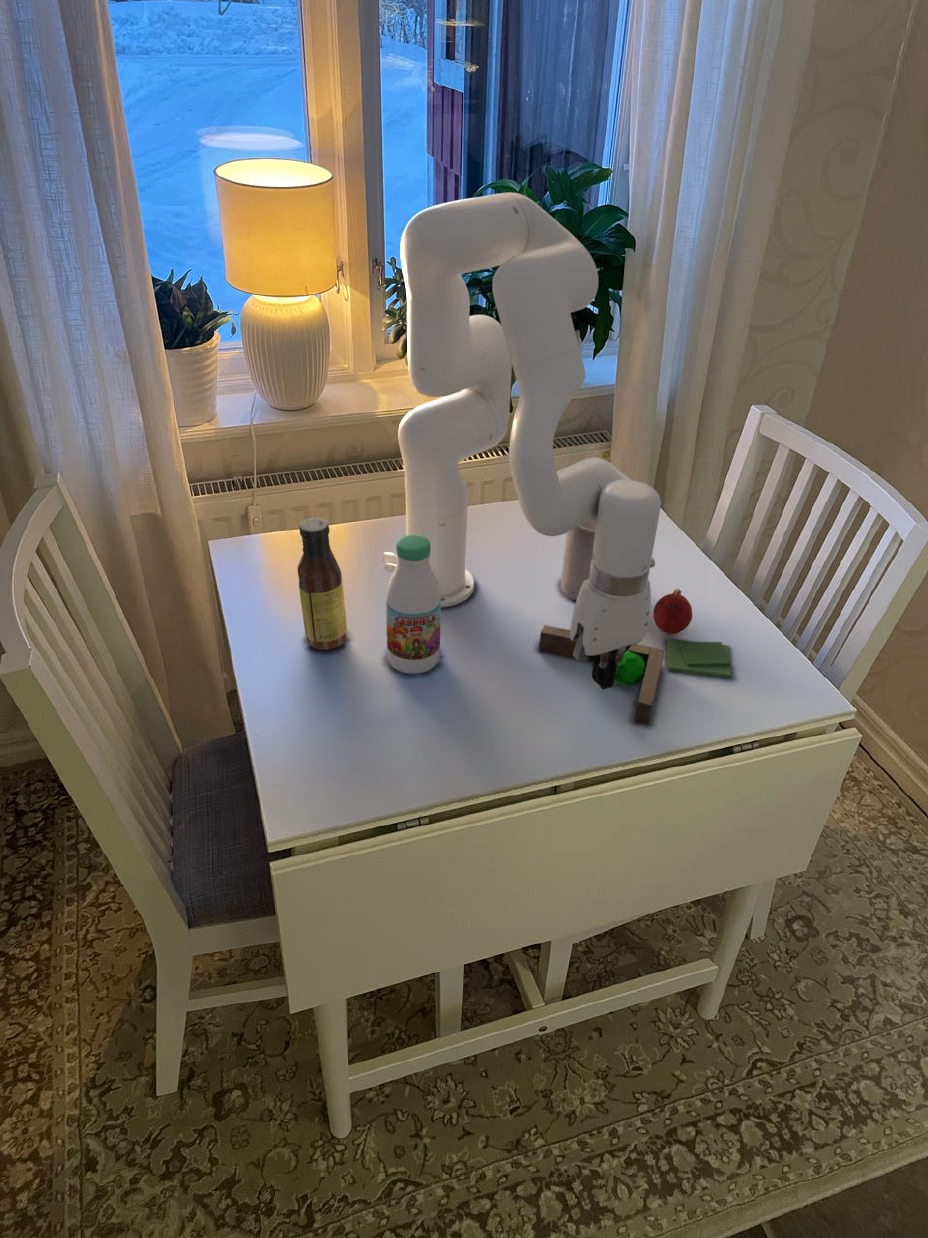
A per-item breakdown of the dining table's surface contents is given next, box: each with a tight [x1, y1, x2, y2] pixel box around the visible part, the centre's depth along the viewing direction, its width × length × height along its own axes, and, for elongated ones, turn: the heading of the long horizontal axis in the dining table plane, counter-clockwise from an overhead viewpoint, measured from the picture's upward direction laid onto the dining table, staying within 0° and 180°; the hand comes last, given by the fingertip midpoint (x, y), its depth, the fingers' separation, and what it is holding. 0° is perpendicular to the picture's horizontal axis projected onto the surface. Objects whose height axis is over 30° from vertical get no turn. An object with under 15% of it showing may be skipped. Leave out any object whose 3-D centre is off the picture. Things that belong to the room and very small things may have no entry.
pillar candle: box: [560, 520, 597, 601], centre depth 149 cm, size 10×10×15 cm
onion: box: [652, 588, 693, 635], centre depth 141 cm, size 6×6×8 cm
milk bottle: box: [385, 535, 442, 675], centre depth 131 cm, size 8×8×20 cm
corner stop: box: [538, 624, 666, 725], centre depth 133 cm, size 18×13×4 cm
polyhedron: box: [614, 651, 645, 687], centre depth 133 cm, size 5×5×5 cm
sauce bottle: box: [297, 517, 348, 651], centre depth 134 cm, size 7×6×20 cm
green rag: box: [666, 638, 732, 679], centre depth 138 cm, size 9×7×1 cm
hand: (602, 682), depth 132 cm, fingers closed
